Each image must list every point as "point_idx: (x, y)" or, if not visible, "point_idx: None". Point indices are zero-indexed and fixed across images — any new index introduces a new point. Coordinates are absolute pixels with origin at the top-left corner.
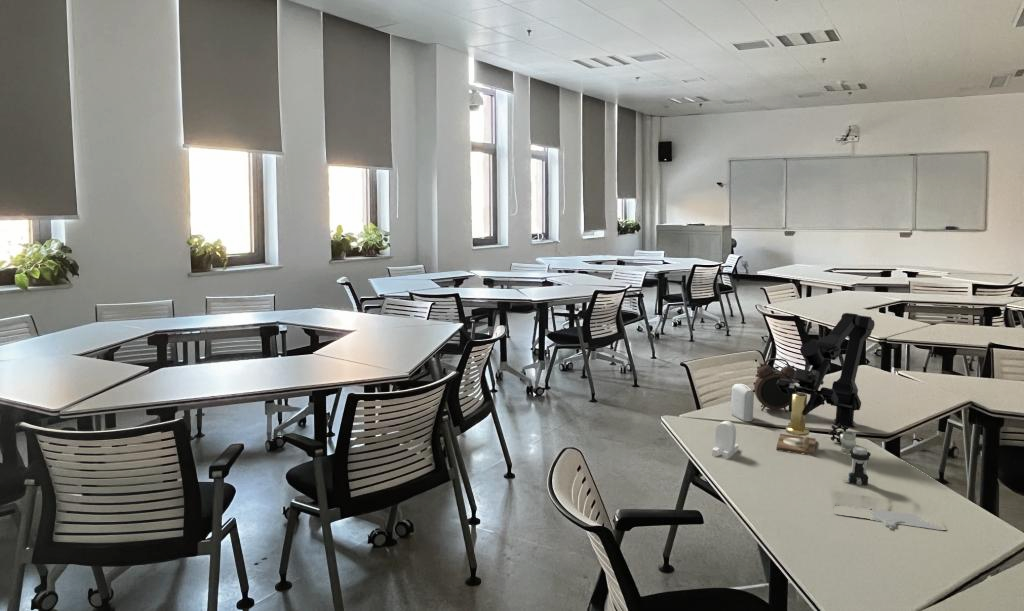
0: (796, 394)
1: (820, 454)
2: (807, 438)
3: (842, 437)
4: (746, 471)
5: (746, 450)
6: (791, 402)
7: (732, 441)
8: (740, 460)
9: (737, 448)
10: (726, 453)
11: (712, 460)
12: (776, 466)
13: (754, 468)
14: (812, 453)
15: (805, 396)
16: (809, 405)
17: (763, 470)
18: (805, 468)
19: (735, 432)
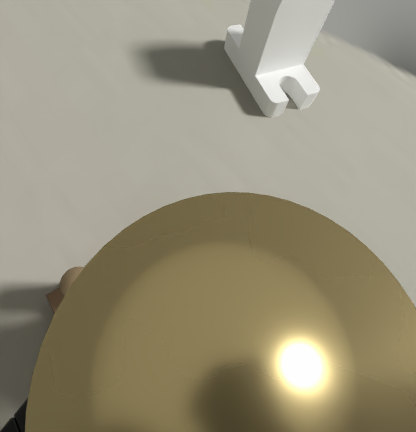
0: (305, 308)
1: (34, 341)
2: (64, 275)
3: None
4: (127, 13)
5: (248, 131)
6: None
7: (248, 23)
8: (194, 58)
9: (263, 105)
10: (230, 28)
11: (235, 14)
12: (91, 92)
13: (127, 40)
14: (54, 292)
15: (33, 374)
16: (24, 407)
17: (99, 45)
18: (6, 145)
19: (270, 16)
